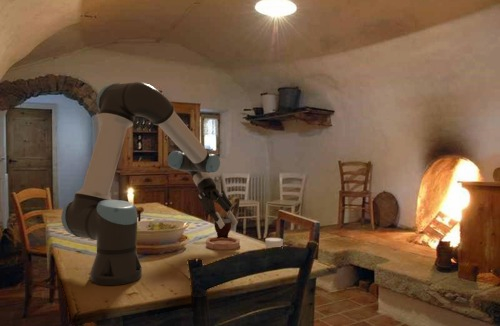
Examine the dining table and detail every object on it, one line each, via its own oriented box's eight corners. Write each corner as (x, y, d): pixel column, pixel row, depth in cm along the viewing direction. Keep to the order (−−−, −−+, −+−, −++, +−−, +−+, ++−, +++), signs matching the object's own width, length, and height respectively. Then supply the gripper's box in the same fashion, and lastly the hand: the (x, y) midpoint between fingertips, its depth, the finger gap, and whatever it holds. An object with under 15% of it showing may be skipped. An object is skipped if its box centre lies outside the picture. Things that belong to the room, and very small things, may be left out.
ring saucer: (219, 252, 151) (219, 246, 151) (199, 244, 161) (199, 239, 161) (246, 246, 160) (246, 241, 160) (225, 239, 171) (225, 235, 171)
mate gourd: (210, 236, 161) (211, 201, 160) (224, 233, 167) (225, 199, 166) (223, 240, 156) (224, 203, 155) (236, 237, 162) (237, 201, 161)
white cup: (281, 260, 141) (282, 242, 141) (263, 259, 143) (263, 240, 143) (283, 255, 148) (284, 237, 148) (266, 254, 150) (266, 236, 149)
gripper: (217, 186, 178) (241, 227, 167) (182, 189, 163) (206, 234, 153) (225, 176, 174) (250, 217, 163) (190, 178, 160) (215, 223, 149)
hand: (229, 225), depth 158 cm, fingers closed on mate gourd, 7 cm apart
